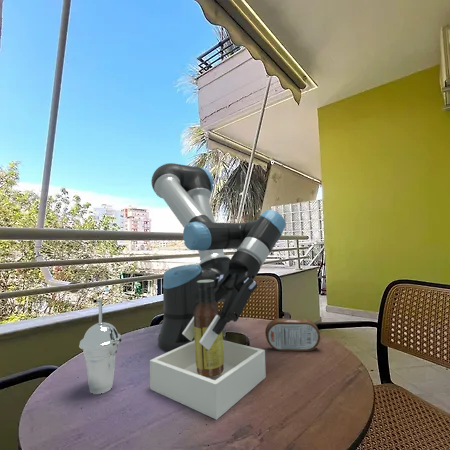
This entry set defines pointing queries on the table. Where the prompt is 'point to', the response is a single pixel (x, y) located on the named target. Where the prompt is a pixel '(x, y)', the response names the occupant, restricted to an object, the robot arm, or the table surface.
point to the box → (207, 386)
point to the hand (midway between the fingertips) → (194, 341)
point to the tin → (292, 335)
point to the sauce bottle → (203, 316)
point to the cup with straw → (100, 353)
